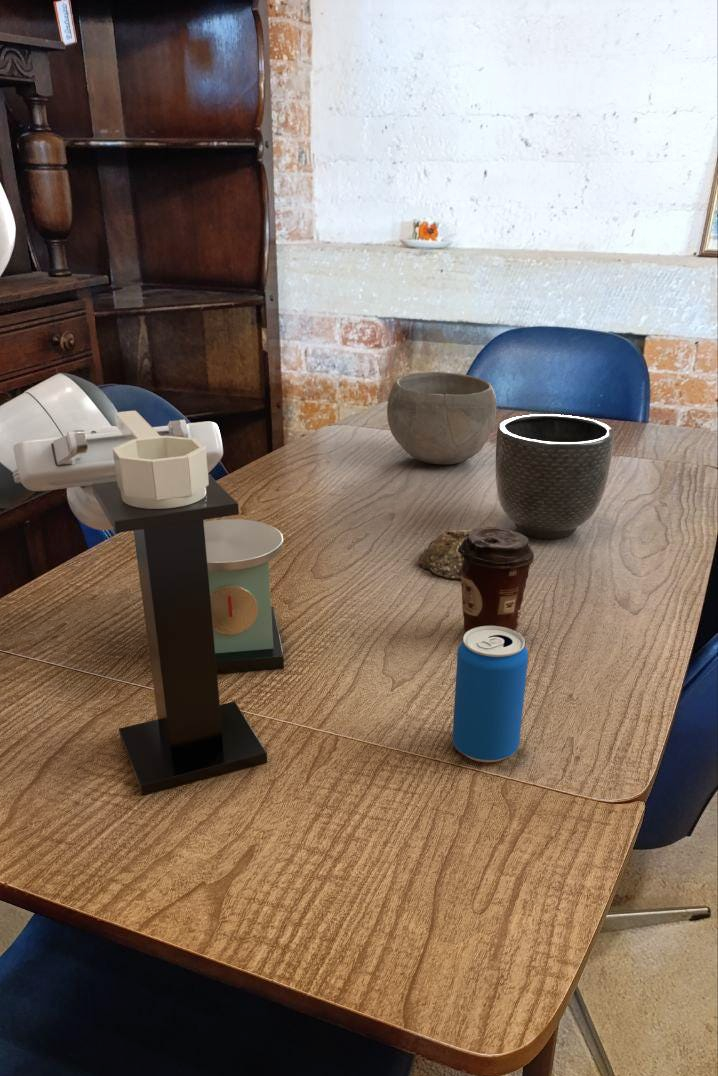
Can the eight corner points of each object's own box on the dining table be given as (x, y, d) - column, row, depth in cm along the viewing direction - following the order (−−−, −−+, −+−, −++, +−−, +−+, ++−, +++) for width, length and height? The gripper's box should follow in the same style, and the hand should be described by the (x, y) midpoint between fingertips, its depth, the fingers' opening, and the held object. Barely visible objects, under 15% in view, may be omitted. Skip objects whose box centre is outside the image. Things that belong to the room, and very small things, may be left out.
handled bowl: (93, 457, 83) (87, 415, 81) (166, 448, 85) (162, 407, 83) (131, 514, 69) (124, 464, 67) (217, 501, 72) (213, 453, 70)
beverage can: (532, 753, 85) (544, 645, 79) (480, 775, 82) (488, 664, 76) (489, 722, 90) (498, 617, 84) (438, 741, 87) (444, 634, 81)
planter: (472, 516, 143) (478, 418, 135) (566, 505, 147) (577, 410, 140) (520, 556, 128) (530, 448, 121) (623, 542, 133) (639, 438, 125)
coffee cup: (457, 653, 103) (463, 550, 96) (448, 621, 110) (453, 523, 104) (531, 652, 103) (542, 549, 97) (517, 620, 110) (527, 522, 104)
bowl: (510, 470, 165) (516, 389, 158) (404, 479, 160) (407, 396, 153) (469, 440, 183) (473, 366, 175) (373, 448, 178) (373, 372, 171)
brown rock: (515, 553, 129) (518, 522, 127) (500, 587, 119) (503, 553, 116) (430, 543, 133) (431, 512, 130) (409, 575, 122) (410, 542, 120)
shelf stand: (119, 735, 88) (80, 485, 75) (234, 708, 92) (215, 468, 80) (142, 795, 79) (102, 525, 67) (267, 762, 84) (252, 503, 71)
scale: (177, 624, 109) (166, 522, 103) (282, 617, 111) (277, 516, 104) (176, 677, 98) (164, 566, 91) (292, 667, 100) (288, 558, 93)
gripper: (6, 452, 91) (4, 411, 78) (198, 431, 98) (226, 390, 85) (19, 512, 91) (19, 480, 78) (210, 486, 98) (240, 453, 85)
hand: (129, 433), depth 82 cm, fingers open, 8 cm apart
